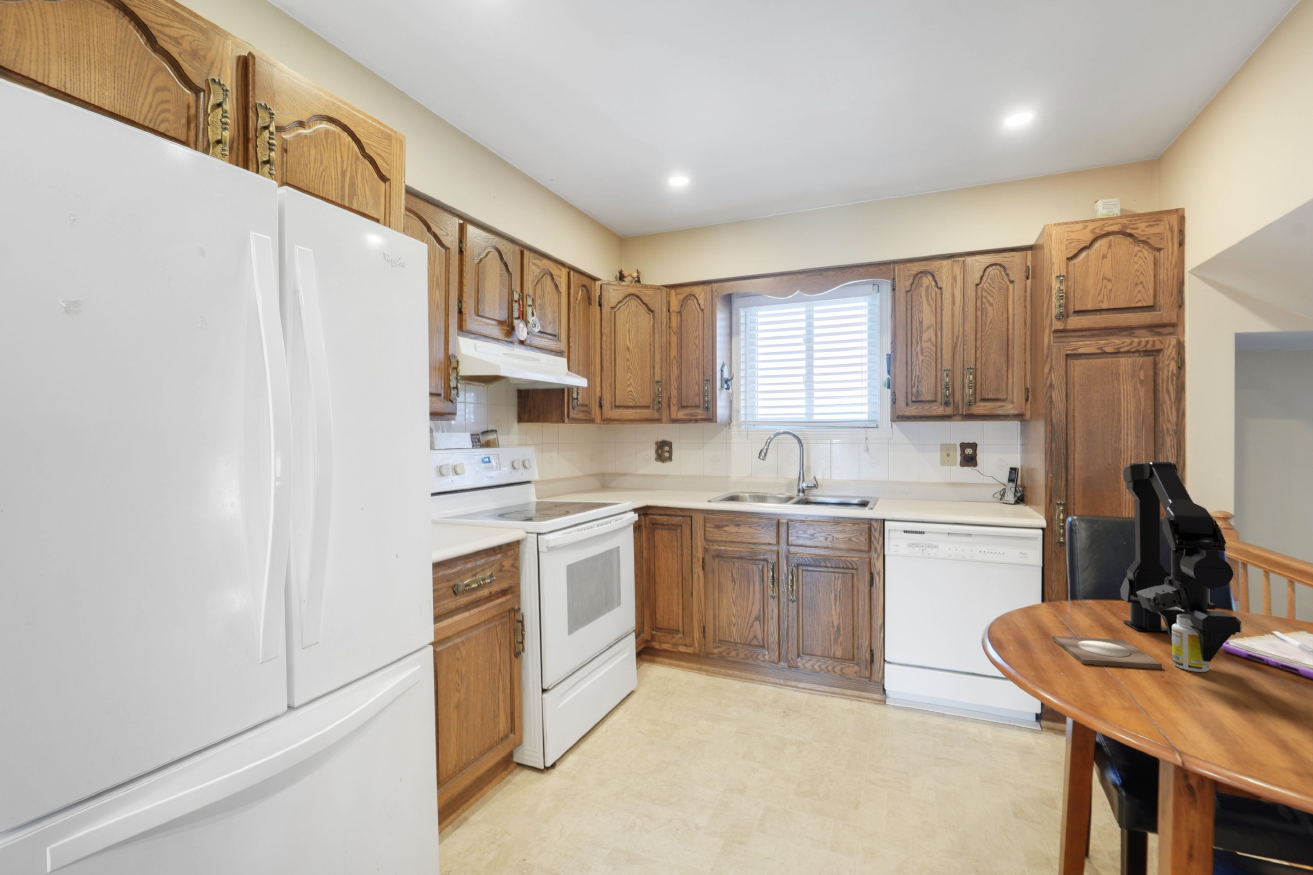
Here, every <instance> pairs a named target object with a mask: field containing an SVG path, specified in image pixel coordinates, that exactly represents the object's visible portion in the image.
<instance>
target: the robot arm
mask: <svg viewBox="0 0 1313 875" xmlns="http://www.w3.org/2000/svg"><path fill="white" fill-rule="evenodd" d="M1122 475H1123V476H1122V477H1123V480H1124V482H1125V485H1126V487H1125V488H1126V490H1127V491H1128V492H1129V494H1130V495H1131V496H1132V498H1133V499H1134V520H1135V522H1134V523H1135V524H1134V528H1135V535H1134V536H1135V538H1134V539H1135V559H1134V560H1133V562H1132V563H1131V564H1130V565H1129V567H1128V568H1127V571H1126V577H1125V578H1124V580H1123V582H1122V584H1121V587H1120V589H1119V591H1120V598H1121V599H1122V600H1123V601H1125V602H1126V603H1128V604H1130V605H1129V606H1130V607H1129V608H1130V612H1129V613H1130V615H1129V616H1130V620H1125V619H1124V620H1123V623H1124V624H1126V625H1127V626H1129V627H1130V628H1133V629H1134V630H1136V631H1138V632H1140V631H1141V632H1153V633H1154V632H1157V633H1167V634H1168V635H1169V638H1170V642H1172V625H1173V624H1175V623H1177V615H1178V614H1188V615H1190V620H1191V622H1192V624H1193V626H1190V627H1191V628H1192V629H1193V630H1194V631H1195V632H1197V633H1198V635H1199V642H1200V650H1201V656H1202V660H1203V661H1205V662H1211V661H1212V660H1213V658H1215V656H1216V654H1217V653H1218V652H1219V651H1220V649H1221V648H1222V647H1223V645H1224V644H1225V643H1226V642H1227V641H1228V640H1229V638H1231V636H1235V635H1236V634H1237V633H1239V634H1240V633H1242V632H1243V630H1242V628H1243V627H1242V621H1241V620H1240V619H1239V618H1237V617H1236V616H1235V615H1233V614H1230V613H1228V612H1225V611H1221V610H1216V604H1214V603H1212V602H1210V597H1211V596H1210V592H1211V591H1210V590H1211V589H1212V590H1216V588H1222V587H1225V586H1226V585H1228V584H1229V583H1230V582H1231V581H1232V580H1233V578H1234V569H1233V568H1232V566H1231V564H1230V563H1229V562H1227V561H1226V560H1224V559H1223V558H1221V557H1220V552H1226V547H1225V546H1226V544H1227V541H1226V539H1225V537H1224V534H1223V532H1222V530H1221V528H1220V525H1219V524H1218V522H1217V521H1216V520H1215V519H1214V517H1213V516H1212V515H1211V514H1210V512H1209V511H1208V509H1207V508H1205V507H1203V506H1201V505H1200V504H1197V503H1195V502H1194V500H1193V499H1192V497H1191V496H1190V494H1189V493H1188V490H1187V489H1186V487H1185V485H1184V483H1183V481H1182V479H1181V478H1180V476H1179V474H1178V467H1177V464H1176V463H1175V462H1172V461H1149V462H1142V463H1141V462H1140V463H1139V462H1137V463H1136V462H1133V463H1131V462H1130V463H1129V465H1128V466H1126V467H1124V468H1123V472H1122ZM1161 506H1162V508H1163V510H1164V511H1165V514H1164V517H1163V519H1162V531H1163V533H1164V536H1165V537H1166V538H1165V539H1166V540H1167V542H1168V544H1169V547H1170V548H1171V549H1170V572H1169V571H1168V570H1166V568H1165V567H1164V566H1163V564H1162V560H1161V559H1162V556H1161V554H1162V552H1161V550H1162V549H1161V546H1162V545H1161V537H1162V536H1161ZM1162 620H1163V623H1164V625H1165V627H1164V626H1162Z"/></svg>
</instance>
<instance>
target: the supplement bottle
mask: <svg viewBox="0 0 1313 875" xmlns="http://www.w3.org/2000/svg"><path fill="white" fill-rule="evenodd" d="M1190 626H1193V624H1192V622H1191V620H1190V615H1188V614H1178V615H1177V623H1175V624H1173V625H1172V641H1171V648H1172V649H1171V654H1172V655H1171V656H1172V658H1171V659H1172V664H1173V665H1174V666H1175V667H1177V668H1179V669H1182V670H1185V671H1189V672H1194V673H1195V672H1196V673H1205V672H1208V671H1210V670H1211V669H1210V667H1211V665H1210V662H1211V661H1210V662H1205V661H1203V660H1202V656H1201V650H1200V642H1199V635H1198V633H1197V632H1195V631H1194V630H1193V629H1192V628H1191V627H1190Z"/></svg>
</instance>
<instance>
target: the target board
mask: <svg viewBox="0 0 1313 875" xmlns="http://www.w3.org/2000/svg"><path fill="white" fill-rule="evenodd" d="M1052 641H1053V642H1054V641H1055V642H1056V643H1055V642H1054V643H1055V644H1057V645H1058V646H1059V645H1060V646H1061V649H1063V648H1064V649H1065V650H1066V651H1065V650H1064V649H1063V650H1064V651H1065V652H1067V653H1068V654H1069V655H1070V654H1071V655H1070V656H1072V657H1073V658H1074V659H1075V658H1076V661H1078V662H1079V661H1080V662H1081V663H1080V662H1079V663H1080V664H1082V665H1088V664H1094V665H1093V666H1104V665H1111V666H1110V667H1120V666H1122V667H1121V668H1123V667H1124V668H1134V669H1135V668H1136V667H1137V669H1138V668H1139V669H1152V670H1153V669H1154V670H1162V669H1163V664H1162V663H1161V662H1160V661H1158V660H1156V659H1154V658H1153V657H1151V656H1150V655H1148V654H1146V653H1145V652H1143V651H1141V649H1139V648H1137V647H1136V646H1134V645H1132V644H1130V642H1127V641H1125V640H1124V639H1117V638H1115V639H1114V638H1100V637H1099V638H1098V637H1083V636H1063V635H1062V636H1061V635H1052Z"/></svg>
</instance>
